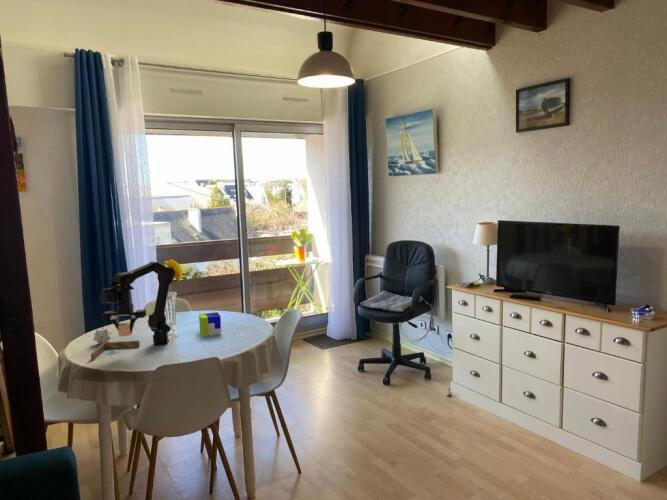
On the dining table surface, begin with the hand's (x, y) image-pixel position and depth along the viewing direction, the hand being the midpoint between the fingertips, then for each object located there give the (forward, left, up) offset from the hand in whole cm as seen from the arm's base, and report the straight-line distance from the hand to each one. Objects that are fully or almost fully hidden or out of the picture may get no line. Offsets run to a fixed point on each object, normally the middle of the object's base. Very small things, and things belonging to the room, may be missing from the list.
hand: (125, 332), depth 237 cm
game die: (+17, -20, -11) cm, 28 cm away
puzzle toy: (-36, -30, -11) cm, 48 cm away
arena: (+5, -3, -11) cm, 13 cm away
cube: (0, 0, -1) cm, 1 cm away
